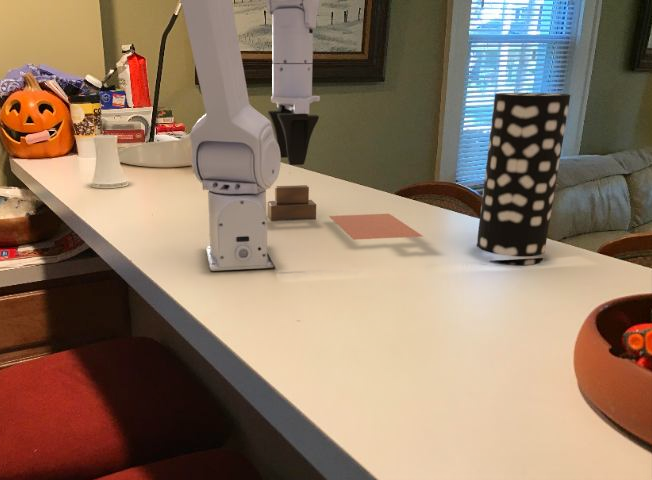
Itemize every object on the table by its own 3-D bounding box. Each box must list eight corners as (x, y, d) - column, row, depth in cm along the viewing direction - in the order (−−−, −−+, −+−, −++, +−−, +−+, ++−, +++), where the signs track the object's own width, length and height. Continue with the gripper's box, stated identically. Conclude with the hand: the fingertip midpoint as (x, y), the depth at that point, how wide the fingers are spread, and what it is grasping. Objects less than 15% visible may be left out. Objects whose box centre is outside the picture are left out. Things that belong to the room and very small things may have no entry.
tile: (422, 244, 84) (423, 236, 84) (353, 247, 83) (353, 239, 83) (388, 220, 97) (389, 213, 97) (328, 223, 96) (328, 215, 95)
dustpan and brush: (190, 154, 170) (189, 119, 167) (254, 170, 145) (254, 129, 142) (111, 161, 158) (108, 124, 155) (166, 180, 133) (163, 135, 129)
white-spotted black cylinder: (500, 267, 75) (524, 96, 67) (463, 249, 82) (481, 93, 75) (557, 262, 77) (587, 95, 69) (516, 244, 84) (538, 92, 77)
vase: (85, 184, 128) (79, 135, 124) (118, 180, 132) (113, 133, 129) (101, 189, 122) (95, 138, 119) (134, 185, 127) (130, 136, 123)
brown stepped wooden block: (271, 228, 93) (271, 189, 91) (267, 223, 96) (267, 185, 94) (315, 226, 94) (316, 187, 92) (310, 221, 97) (311, 183, 95)
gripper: (332, 63, 80) (329, 167, 85) (308, 64, 94) (307, 153, 99) (280, 63, 79) (279, 168, 84) (263, 64, 93) (264, 154, 98)
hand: (291, 160), depth 91 cm, fingers open, 7 cm apart
